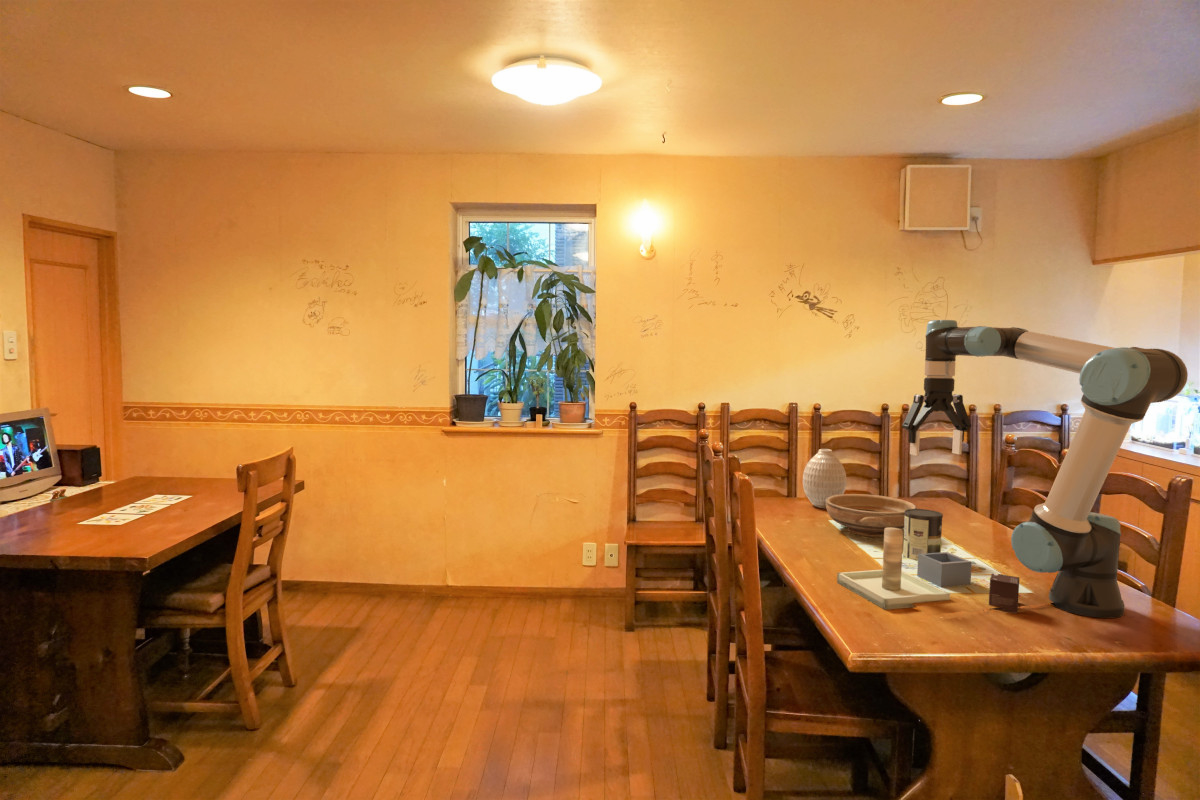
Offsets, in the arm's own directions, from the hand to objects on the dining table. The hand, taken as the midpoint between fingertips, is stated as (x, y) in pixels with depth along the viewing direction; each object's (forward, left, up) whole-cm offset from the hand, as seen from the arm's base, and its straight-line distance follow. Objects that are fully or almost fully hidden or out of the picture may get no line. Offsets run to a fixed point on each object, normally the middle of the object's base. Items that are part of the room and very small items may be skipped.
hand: (935, 454), depth 198 cm
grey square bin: (-10, +4, -33) cm, 34 cm away
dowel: (-13, +22, -31) cm, 41 cm away
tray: (-13, +22, -33) cm, 42 cm away
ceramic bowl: (+41, -9, -33) cm, 53 cm away
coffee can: (+10, -5, -33) cm, 35 cm away
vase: (+79, -15, -33) cm, 87 cm away
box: (-28, +2, -33) cm, 43 cm away
